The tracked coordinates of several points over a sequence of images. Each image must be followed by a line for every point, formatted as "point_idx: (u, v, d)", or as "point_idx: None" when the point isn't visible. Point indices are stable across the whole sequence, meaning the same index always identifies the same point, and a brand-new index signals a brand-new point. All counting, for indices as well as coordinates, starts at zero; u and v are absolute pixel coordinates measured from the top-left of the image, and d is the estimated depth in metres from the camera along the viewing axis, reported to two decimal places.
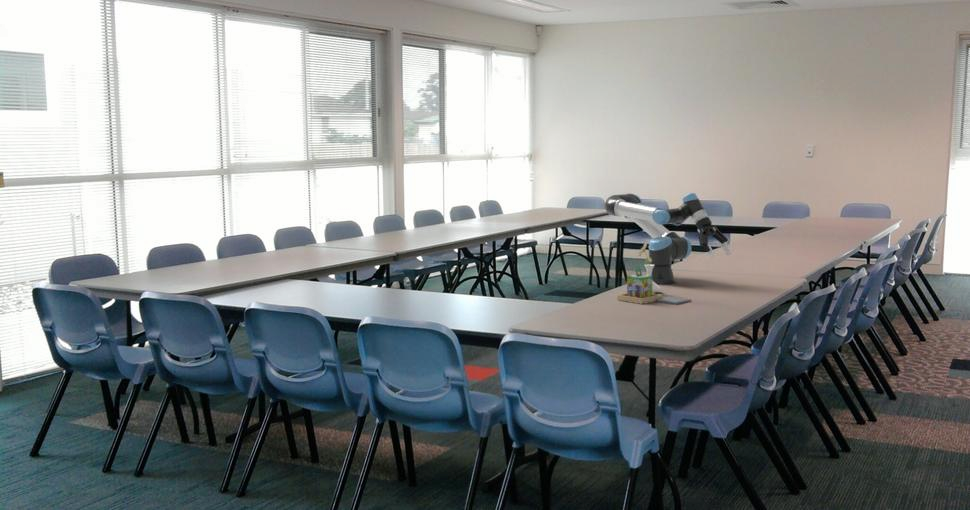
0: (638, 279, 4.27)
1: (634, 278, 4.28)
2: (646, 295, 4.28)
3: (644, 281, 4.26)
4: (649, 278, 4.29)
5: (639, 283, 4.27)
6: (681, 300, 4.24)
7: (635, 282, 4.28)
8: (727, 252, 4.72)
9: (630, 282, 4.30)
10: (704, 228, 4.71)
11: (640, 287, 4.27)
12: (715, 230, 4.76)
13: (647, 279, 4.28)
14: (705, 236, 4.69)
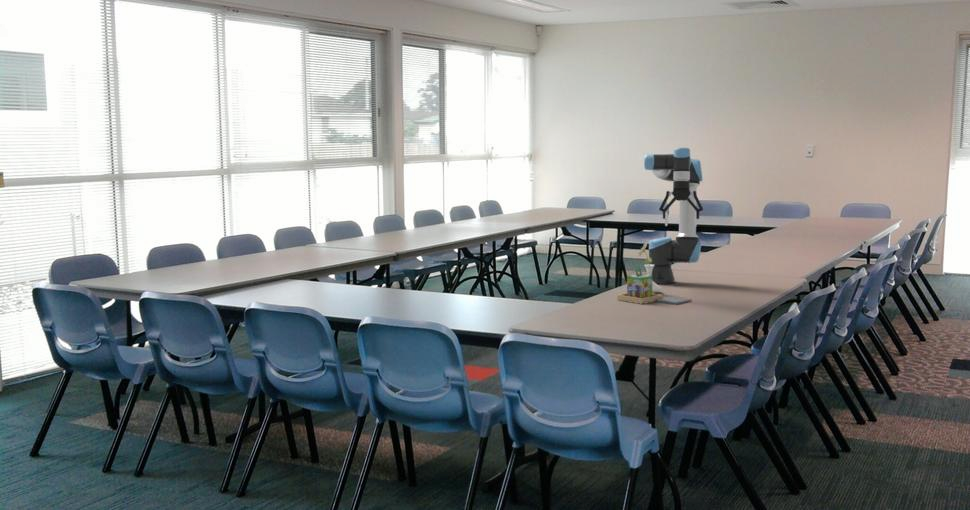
0: (638, 279, 4.27)
1: (634, 278, 4.28)
2: (646, 295, 4.28)
3: (644, 281, 4.26)
4: (649, 278, 4.29)
5: (639, 283, 4.27)
6: (681, 300, 4.24)
7: (635, 282, 4.28)
8: None
9: (630, 282, 4.30)
10: (674, 192, 4.32)
11: (640, 287, 4.27)
12: (692, 195, 4.30)
13: (647, 279, 4.28)
14: (670, 201, 4.34)
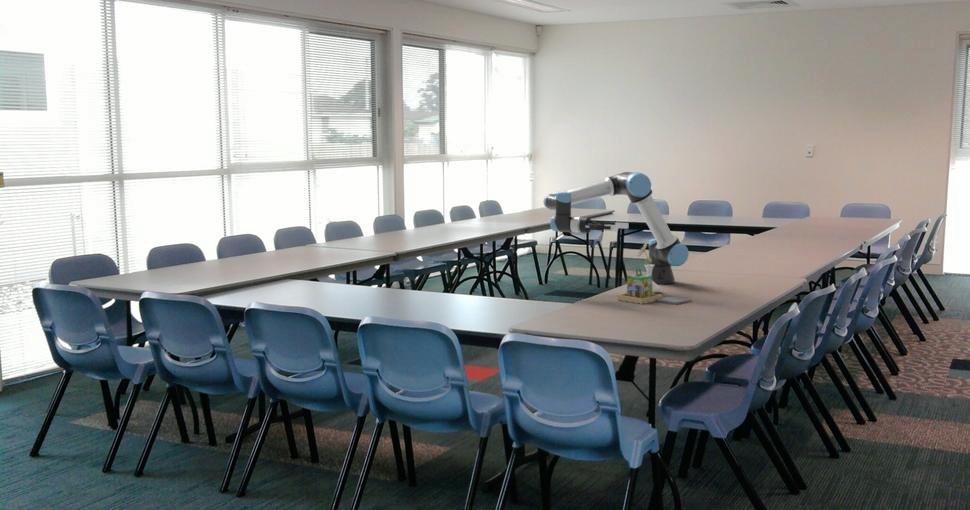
0: (638, 279, 4.27)
1: (634, 278, 4.28)
2: (646, 295, 4.28)
3: (644, 281, 4.26)
4: (649, 278, 4.29)
5: (639, 283, 4.27)
6: (681, 300, 4.24)
7: (635, 282, 4.28)
8: None
9: (630, 282, 4.30)
10: None
11: (640, 287, 4.27)
12: None
13: (647, 279, 4.28)
14: None
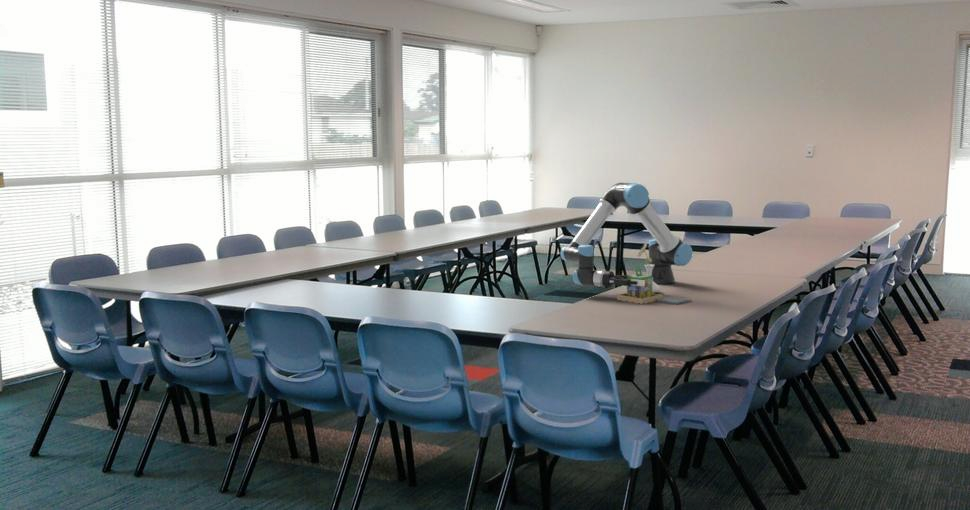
0: (638, 279, 4.27)
1: (634, 278, 4.28)
2: (646, 295, 4.28)
3: None
4: (649, 278, 4.29)
5: None
6: (681, 300, 4.24)
7: None
8: None
9: None
10: None
11: (640, 287, 4.27)
12: None
13: (647, 278, 4.28)
14: None
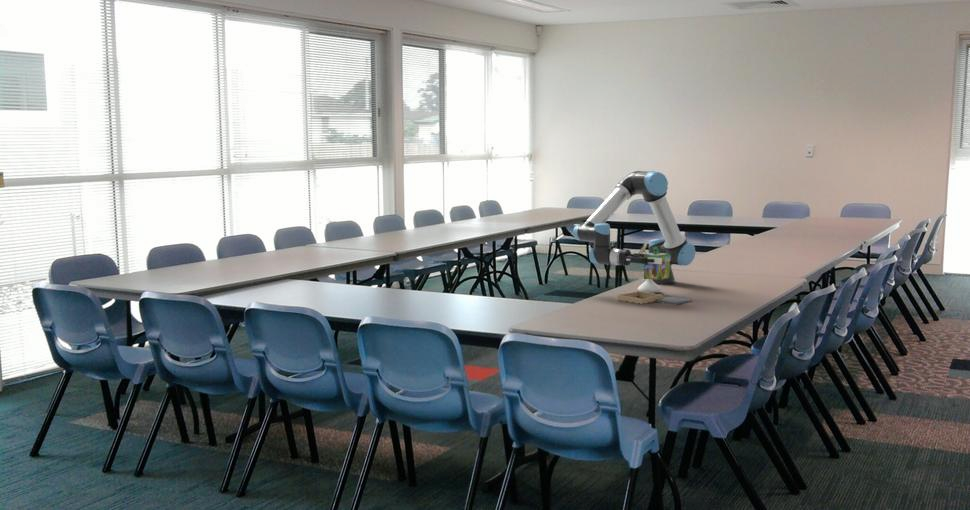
0: (655, 257, 4.22)
1: (651, 256, 4.23)
2: (663, 273, 4.23)
3: None
4: (666, 256, 4.24)
5: None
6: (681, 300, 4.24)
7: None
8: None
9: None
10: None
11: (657, 265, 4.22)
12: None
13: (665, 256, 4.23)
14: None
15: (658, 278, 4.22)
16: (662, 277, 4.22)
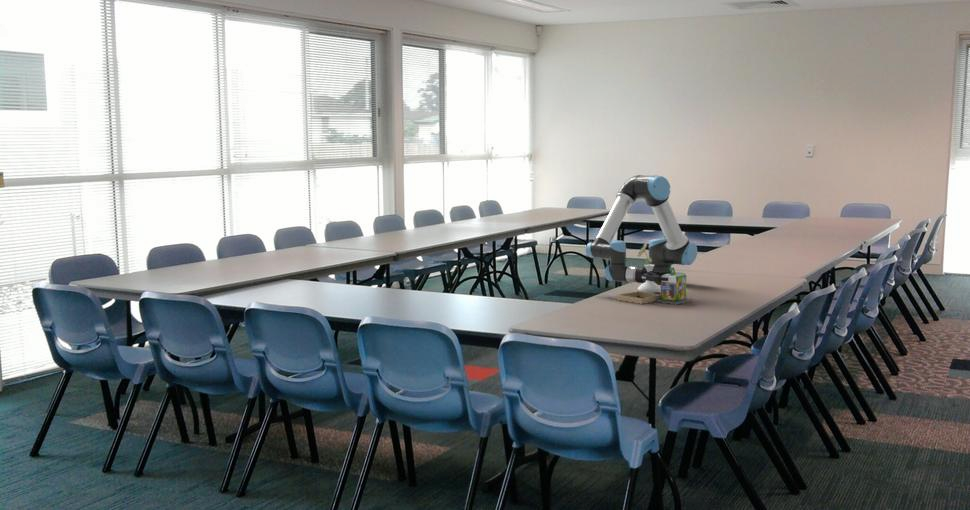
0: None
1: None
2: (680, 294, 4.23)
3: (679, 280, 4.20)
4: (683, 277, 4.24)
5: None
6: (681, 300, 4.24)
7: None
8: None
9: None
10: None
11: (674, 286, 4.21)
12: None
13: (682, 277, 4.23)
14: None
15: (675, 299, 4.21)
16: (679, 298, 4.22)
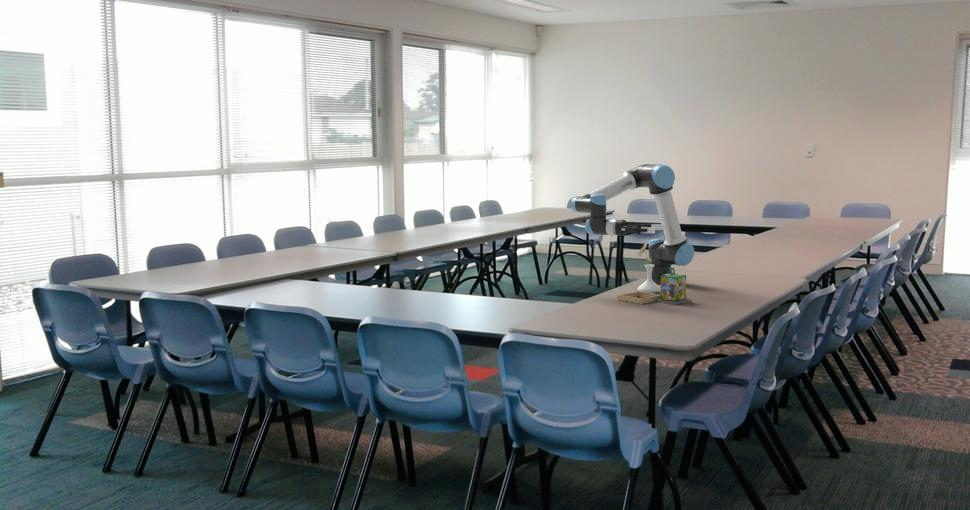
0: (672, 278, 4.21)
1: (668, 277, 4.22)
2: (680, 294, 4.23)
3: (679, 280, 4.20)
4: (683, 277, 4.24)
5: (673, 282, 4.21)
6: (681, 300, 4.24)
7: (669, 281, 4.22)
8: None
9: (664, 281, 4.24)
10: None
11: (674, 286, 4.21)
12: None
13: (682, 277, 4.23)
14: None
15: (675, 299, 4.21)
16: (679, 298, 4.22)
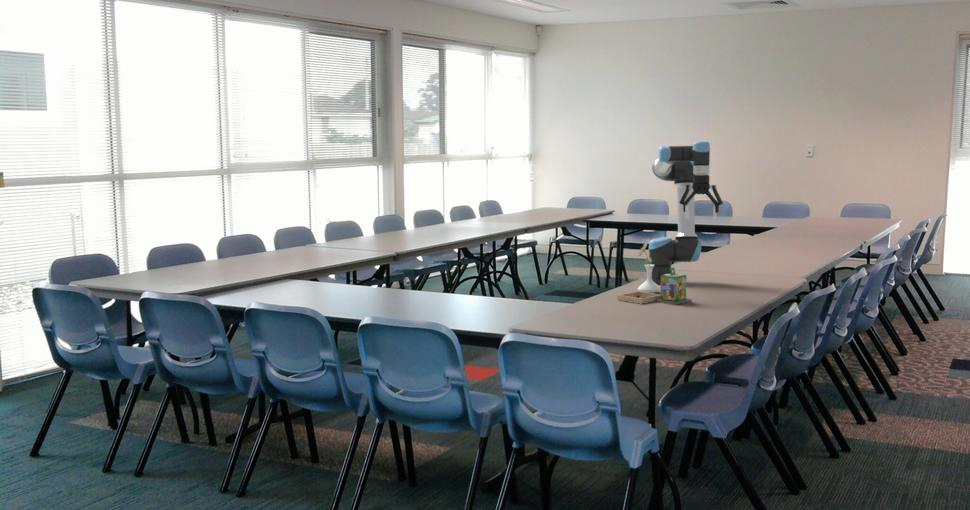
0: (672, 278, 4.21)
1: (668, 277, 4.22)
2: (680, 294, 4.23)
3: (679, 280, 4.20)
4: (683, 277, 4.24)
5: (673, 282, 4.21)
6: (681, 300, 4.24)
7: (669, 281, 4.22)
8: None
9: (664, 281, 4.24)
10: (694, 186, 4.36)
11: (674, 286, 4.21)
12: (712, 189, 4.32)
13: (682, 277, 4.23)
14: (690, 194, 4.38)
15: (675, 299, 4.21)
16: (679, 298, 4.22)
